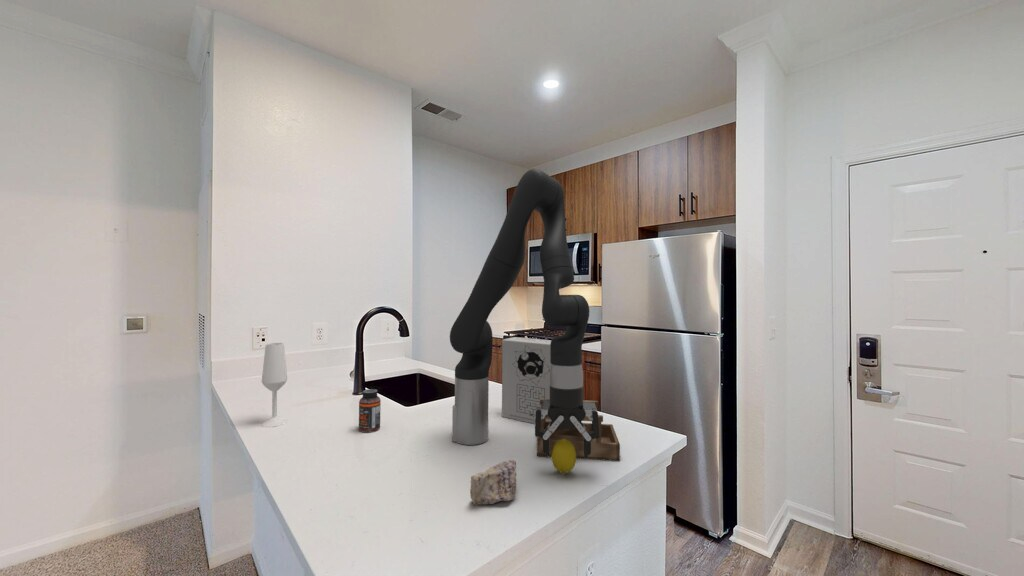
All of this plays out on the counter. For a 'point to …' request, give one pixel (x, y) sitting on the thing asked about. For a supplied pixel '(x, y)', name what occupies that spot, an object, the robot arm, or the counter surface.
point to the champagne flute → (274, 377)
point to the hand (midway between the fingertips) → (566, 455)
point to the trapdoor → (585, 405)
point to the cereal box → (524, 377)
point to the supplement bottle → (369, 411)
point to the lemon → (563, 455)
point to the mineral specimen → (494, 484)
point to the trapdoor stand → (600, 448)
